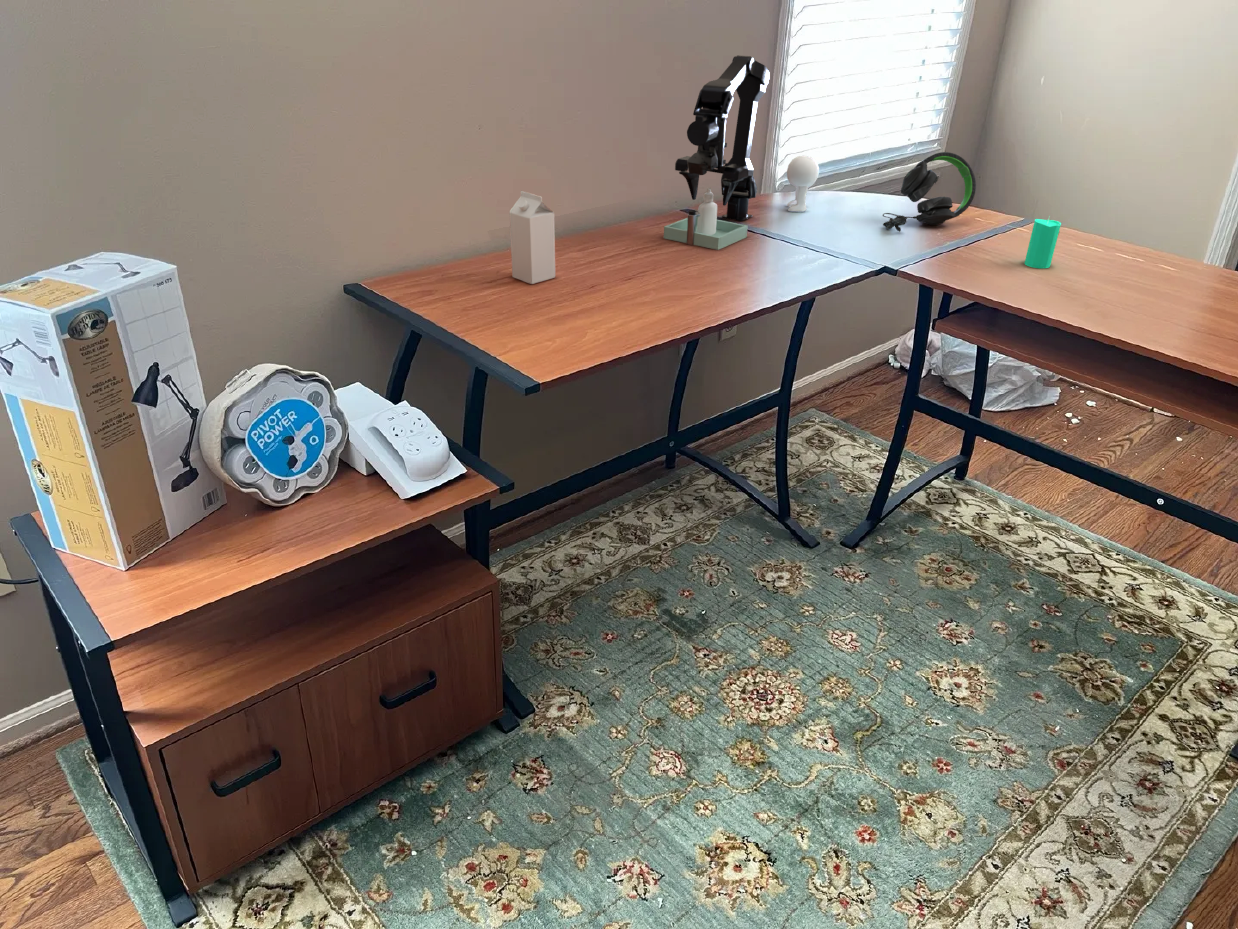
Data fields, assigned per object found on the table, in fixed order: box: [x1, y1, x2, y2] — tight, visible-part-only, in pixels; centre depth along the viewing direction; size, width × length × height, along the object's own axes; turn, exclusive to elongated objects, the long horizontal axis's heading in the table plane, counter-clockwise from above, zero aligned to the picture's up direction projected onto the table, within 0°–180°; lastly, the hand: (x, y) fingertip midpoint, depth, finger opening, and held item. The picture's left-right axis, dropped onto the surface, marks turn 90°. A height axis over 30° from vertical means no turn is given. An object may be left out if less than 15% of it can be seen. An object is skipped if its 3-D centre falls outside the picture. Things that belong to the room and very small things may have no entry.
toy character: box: [786, 155, 820, 213], centre depth 262 cm, size 9×9×15 cm
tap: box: [685, 209, 700, 246], centre depth 232 cm, size 4×2×8 cm, turn 143°
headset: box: [881, 151, 977, 233], centre depth 247 cm, size 18×14×29 cm
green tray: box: [663, 217, 749, 251], centre depth 238 cm, size 15×17×3 cm
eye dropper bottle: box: [697, 187, 718, 235], centre depth 236 cm, size 4×6×12 cm
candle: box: [1023, 214, 1062, 270], centre depth 219 cm, size 6×6×12 cm
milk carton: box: [508, 190, 556, 285], centre depth 204 cm, size 7×7×19 cm
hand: (709, 202), depth 234 cm, fingers open, 9 cm apart
